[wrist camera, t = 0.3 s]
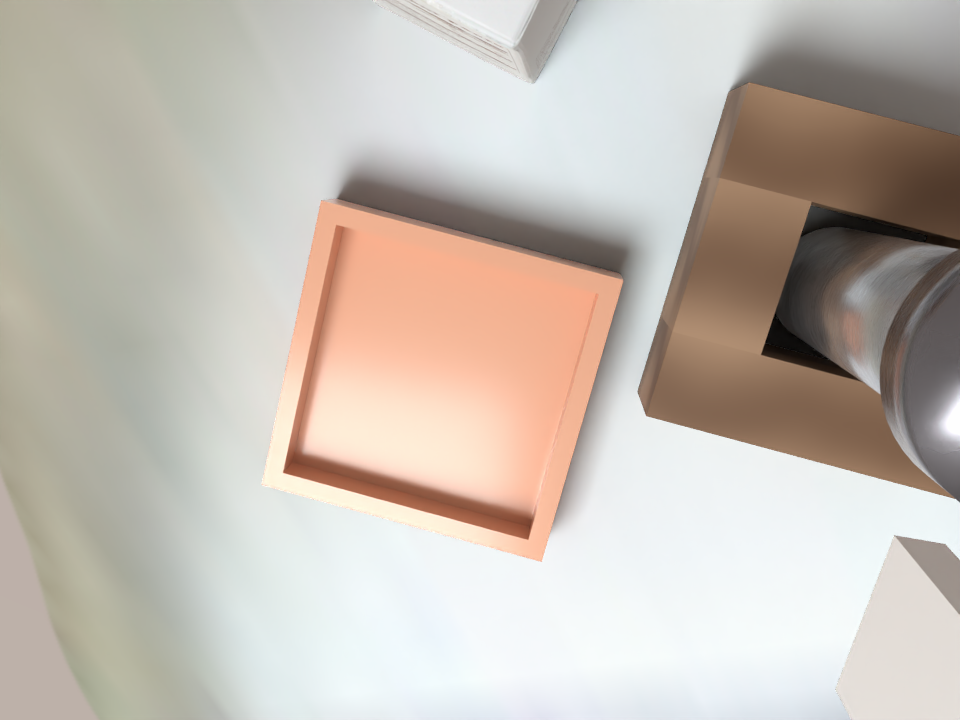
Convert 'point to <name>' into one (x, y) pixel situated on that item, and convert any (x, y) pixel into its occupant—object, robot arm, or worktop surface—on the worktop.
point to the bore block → (765, 265)
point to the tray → (438, 377)
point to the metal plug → (887, 331)
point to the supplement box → (492, 28)
